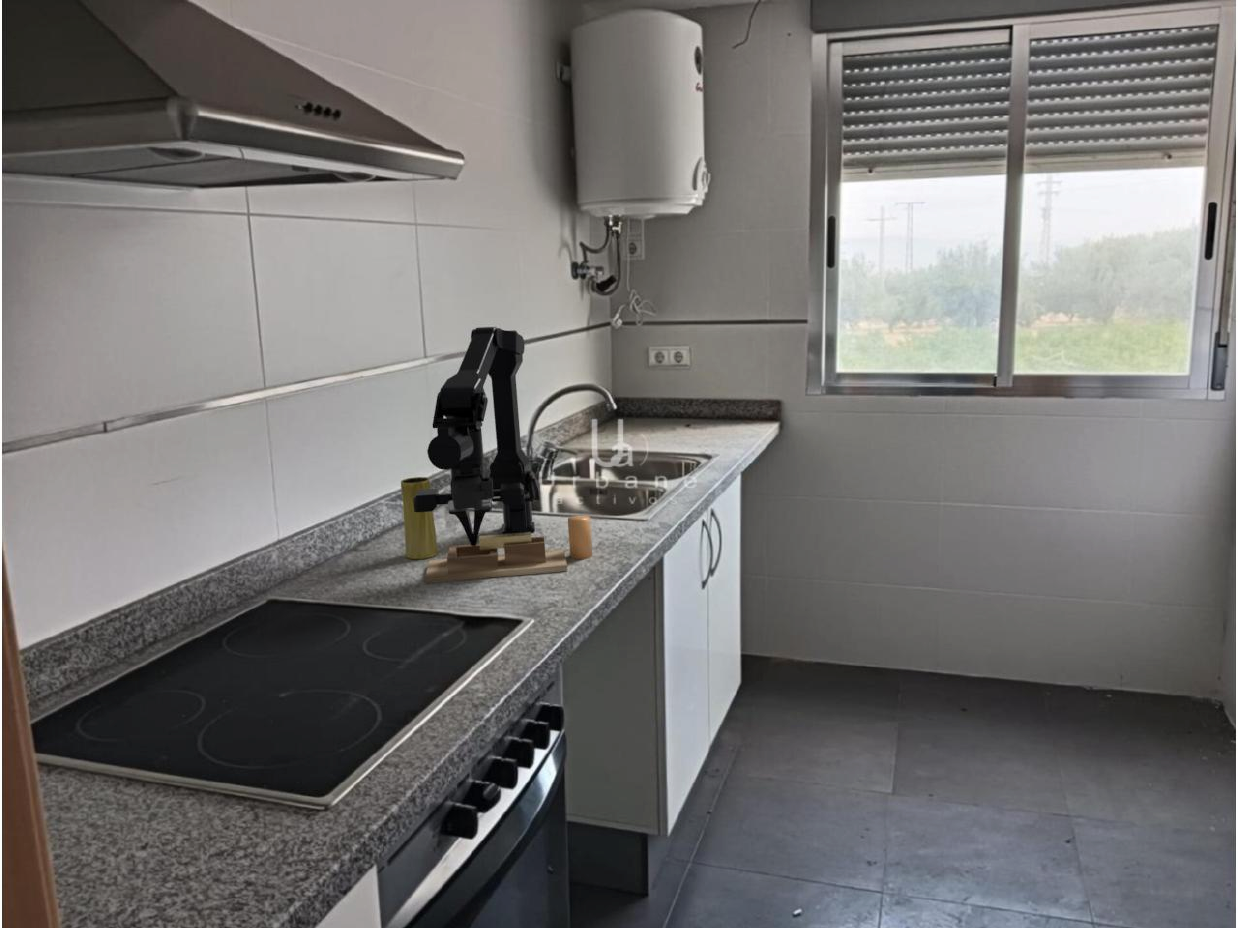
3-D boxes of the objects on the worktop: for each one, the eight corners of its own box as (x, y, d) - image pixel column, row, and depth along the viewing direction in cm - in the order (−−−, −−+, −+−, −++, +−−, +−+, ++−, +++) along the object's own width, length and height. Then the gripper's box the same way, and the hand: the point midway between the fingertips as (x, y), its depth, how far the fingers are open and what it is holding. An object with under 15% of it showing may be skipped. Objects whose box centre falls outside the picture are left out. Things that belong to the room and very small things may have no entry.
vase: (399, 555, 185) (392, 480, 182) (428, 548, 189) (421, 475, 186) (415, 561, 180) (408, 485, 177) (445, 554, 184) (438, 479, 181)
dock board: (430, 565, 177) (427, 541, 176) (564, 554, 180) (562, 530, 179) (425, 582, 167) (423, 557, 167) (567, 570, 170) (565, 545, 169)
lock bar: (480, 546, 173) (479, 535, 173) (531, 542, 174) (530, 531, 174) (479, 550, 171) (478, 538, 171) (531, 545, 172) (531, 534, 172)
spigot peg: (569, 553, 180) (567, 516, 179) (591, 551, 181) (589, 514, 179) (570, 559, 176) (568, 521, 175) (593, 558, 177) (590, 520, 175)
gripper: (406, 470, 161) (415, 563, 164) (521, 462, 162) (528, 554, 165) (413, 457, 171) (421, 544, 174) (521, 450, 173) (527, 536, 176)
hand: (473, 545), depth 172 cm, fingers closed
